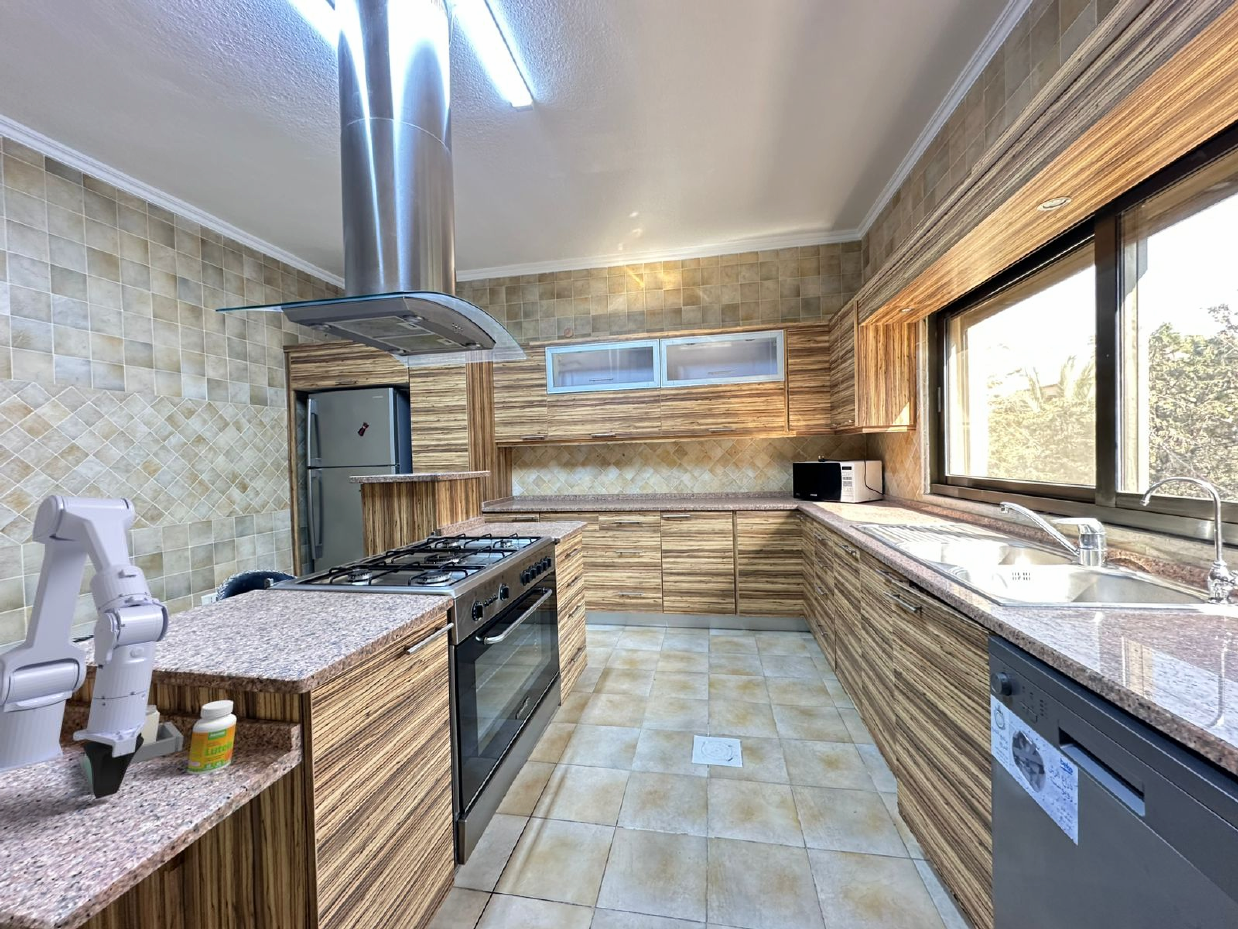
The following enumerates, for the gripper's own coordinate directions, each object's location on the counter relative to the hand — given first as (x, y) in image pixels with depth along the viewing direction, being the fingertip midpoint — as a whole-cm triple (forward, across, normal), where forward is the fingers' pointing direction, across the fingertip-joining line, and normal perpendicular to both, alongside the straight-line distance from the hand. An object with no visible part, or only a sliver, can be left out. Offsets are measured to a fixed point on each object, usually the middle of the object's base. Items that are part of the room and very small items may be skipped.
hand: (105, 794), depth 66 cm
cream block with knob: (+1, -16, +5) cm, 17 cm away
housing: (+1, -13, +5) cm, 14 cm away
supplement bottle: (+2, -2, +12) cm, 12 cm away
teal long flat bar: (+1, -10, 0) cm, 11 cm away
